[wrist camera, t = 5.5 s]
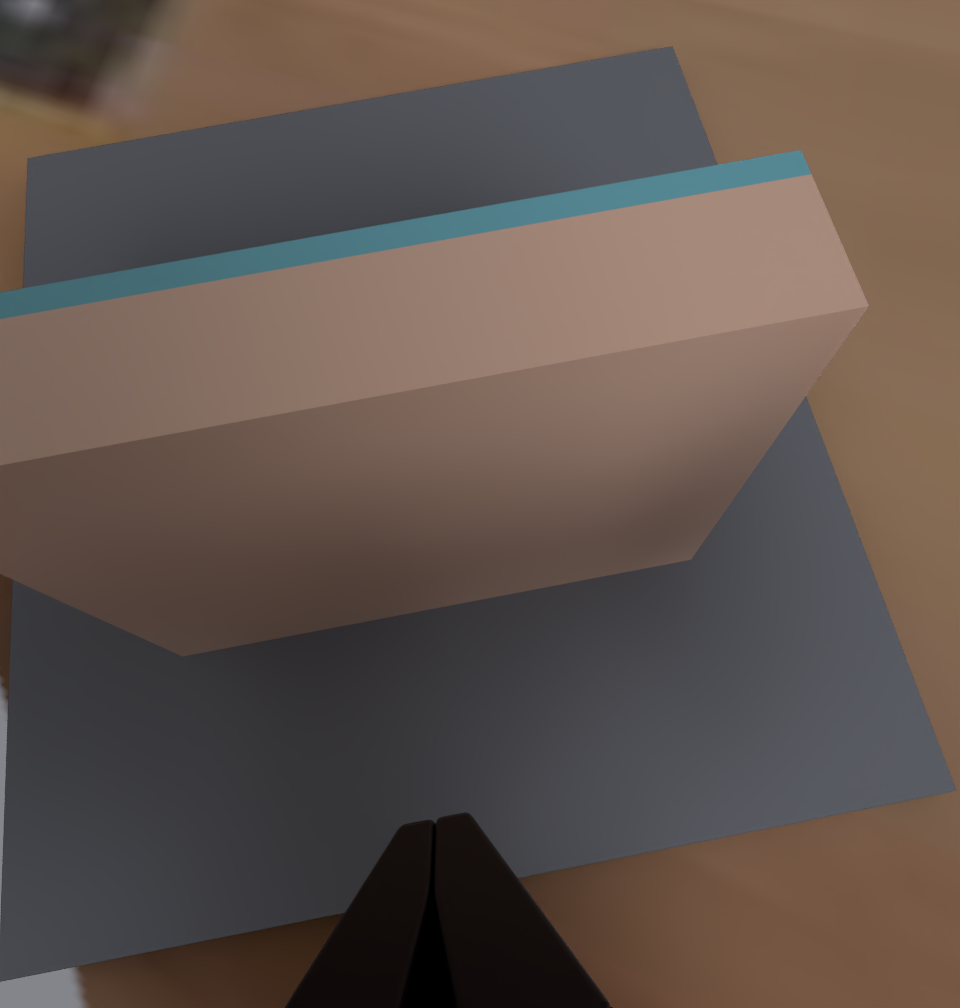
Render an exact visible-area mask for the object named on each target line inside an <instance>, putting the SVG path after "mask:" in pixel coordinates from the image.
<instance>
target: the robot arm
mask: <svg viewBox="0 0 960 1008" xmlns="http://www.w3.org/2000/svg"><path fill="white" fill-rule="evenodd" d="M285 1008H613V1007H610V1004H609V1002H608V1001H607V999H606V998H605V997H604V995H603V994H602V992H601V991H600V990H599V988H598V987H597V986H596V984H595V983H594V981H593V980H592V979H591V977H590V976H589V975H588V973H587V972H586V971H585V969H584V968H583V966H582V965H581V964H580V962H579V961H578V960H577V958H576V957H575V956H574V954H573V953H572V951H571V950H570V949H569V947H568V946H567V945H566V943H565V942H564V941H563V939H562V938H561V936H560V935H559V934H558V932H557V931H556V930H555V928H554V927H553V925H552V924H551V923H550V921H549V920H548V919H547V917H546V916H545V915H544V913H543V912H542V910H541V909H540V908H539V906H538V905H537V904H536V902H535V901H534V900H533V898H532V897H531V895H530V894H529V893H528V891H527V890H526V889H525V887H524V886H523V885H522V883H521V882H520V880H519V879H518V878H517V876H516V875H515V874H514V872H513V871H512V869H511V868H510V867H509V865H508V864H507V863H506V861H505V860H504V859H503V857H502V856H501V854H500V853H499V852H498V850H497V849H496V848H495V846H494V845H493V844H492V842H491V841H490V839H489V838H488V837H487V835H486V834H485V833H484V831H483V830H482V829H481V827H480V826H479V824H478V823H477V822H476V820H475V819H474V818H473V816H472V815H471V814H470V813H467V812H463V813H458V814H453V815H448V816H443V817H440V818H438V819H437V821H436V824H435V822H434V821H433V820H431V819H428V820H422V821H417V822H412V823H407V824H403V825H402V826H400V827H399V829H398V830H397V831H396V833H395V834H394V836H393V838H392V839H391V841H390V842H389V844H388V846H387V847H386V849H385V850H384V852H383V853H382V855H381V857H380V858H379V860H378V861H377V863H376V864H375V866H374V868H373V869H372V871H371V872H370V874H369V875H368V877H367V879H366V880H365V882H364V883H363V885H362V887H361V888H360V890H359V891H358V893H357V894H356V896H355V898H354V899H353V901H352V902H351V904H350V905H349V907H348V909H347V910H346V912H345V913H344V915H343V916H342V918H341V920H340V921H339V923H338V924H337V926H336V927H335V929H334V931H333V932H332V934H331V935H330V937H329V939H328V940H327V942H326V943H325V945H324V946H323V948H322V950H321V951H320V953H319V954H318V956H317V957H316V959H315V961H314V962H313V964H312V965H311V967H310V968H309V970H308V972H307V973H306V975H305V976H304V978H303V980H302V981H301V983H300V984H299V986H298V987H297V989H296V991H295V992H294V994H293V995H292V997H291V998H290V1000H289V1002H288V1003H287V1005H286V1006H285Z"/></svg>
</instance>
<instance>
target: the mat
mask: <svg viewBox="0 0 960 1008" xmlns="http://www.w3.org/2000/svg"><path fill="white" fill-rule="evenodd" d="M714 165H717V162H716V159H715V157H714V154H713V151H712V149H711V146H710V144H709V141H708V138H707V136H706V133H705V130H704V128H703V125H702V123H701V120H700V117H699V115H698V112H697V110H696V107H695V104H694V102H693V99H692V96H691V94H690V91H689V89H688V86H687V83H686V81H685V78H684V75H683V73H682V70H681V68H680V65H679V62H678V60H677V57H676V54H675V52H674V49H673V47H666V48H660V49H654V50H649V51H643V52H637V53H631V54H626V55H620V56H614V57H608V58H603V59H597V60H591V61H585V62H580V63H574V64H568V65H562V66H557V67H551V68H545V69H539V70H534V71H528V72H522V73H516V74H511V75H505V76H499V77H493V78H488V79H482V80H476V81H470V82H464V83H459V84H453V85H447V86H441V87H436V88H430V89H424V90H418V91H413V92H407V93H401V94H395V95H390V96H384V97H378V98H372V99H367V100H361V101H355V102H349V103H344V104H338V105H332V106H326V107H321V108H315V109H309V110H303V111H298V112H292V113H286V114H280V115H275V116H269V117H263V118H257V119H252V120H246V121H240V122H234V123H229V124H223V125H217V126H211V127H206V128H200V129H194V130H188V131H183V132H177V133H171V134H165V135H160V136H154V137H148V138H142V139H137V140H131V141H125V142H119V143H114V144H108V145H102V146H96V147H91V148H85V149H79V150H73V151H67V152H62V153H56V154H50V155H44V156H39V157H33V158H28V165H27V193H26V221H25V249H24V277H23V288H29V287H34V286H40V285H45V284H51V283H57V282H62V281H68V280H74V279H79V278H85V277H90V276H96V275H102V274H107V273H113V272H118V271H124V270H130V269H135V268H141V267H147V266H152V265H158V264H163V263H169V262H175V261H180V260H186V259H192V258H197V257H203V256H208V255H214V254H220V253H225V252H231V251H237V250H242V249H248V248H253V247H259V246H265V245H270V244H276V243H282V242H287V241H293V240H298V239H304V238H310V237H315V236H321V235H326V234H332V233H338V232H343V231H349V230H355V229H360V228H366V227H371V226H377V225H383V224H388V223H394V222H400V221H405V220H411V219H416V218H422V217H428V216H433V215H439V214H445V213H450V212H456V211H461V210H467V209H473V208H478V207H484V206H490V205H495V204H501V203H506V202H512V201H518V200H523V199H529V198H534V197H540V196H546V195H551V194H557V193H563V192H568V191H574V190H579V189H585V188H591V187H596V186H602V185H608V184H613V183H619V182H624V181H630V180H636V179H641V178H647V177H653V176H658V175H664V174H669V173H675V172H681V171H686V170H692V169H697V168H703V167H709V166H714ZM952 791H956V788H955V786H954V783H953V780H952V778H951V775H950V773H949V770H948V767H947V765H946V762H945V759H944V757H943V754H942V752H941V749H940V746H939V744H938V741H937V739H936V736H935V733H934V731H933V728H932V725H931V723H930V720H929V718H928V715H927V712H926V710H925V707H924V704H923V702H922V699H921V697H920V694H919V691H918V689H917V686H916V683H915V681H914V678H913V676H912V673H911V670H910V668H909V665H908V663H907V660H906V657H905V655H904V652H903V649H902V647H901V644H900V642H899V639H898V636H897V634H896V631H895V628H894V626H893V623H892V621H891V618H890V615H889V613H888V610H887V607H886V605H885V602H884V600H883V597H882V594H881V592H880V589H879V587H878V584H877V581H876V579H875V576H874V573H873V571H872V568H871V566H870V563H869V560H868V558H867V555H866V552H865V550H864V547H863V545H862V542H861V539H860V537H859V534H858V531H857V529H856V526H855V524H854V521H853V518H852V516H851V513H850V511H849V508H848V505H847V503H846V500H845V497H844V495H843V492H842V490H841V487H840V484H839V482H838V479H837V476H836V474H835V471H834V469H833V466H832V463H831V461H830V458H829V455H828V453H827V450H826V448H825V445H824V442H823V440H822V437H821V435H820V432H819V429H818V427H817V424H816V421H815V419H814V416H813V414H812V411H811V408H810V406H809V403H808V400H807V398H806V396H805V398H804V399H803V401H802V402H801V404H800V405H799V406H798V408H797V409H796V411H795V412H794V414H793V415H792V416H791V418H790V419H789V421H788V422H787V423H786V425H785V426H784V428H783V429H782V431H781V432H780V433H779V435H778V436H777V438H776V439H775V441H774V442H773V443H772V445H771V446H770V448H769V449H768V451H767V452H766V453H765V455H764V456H763V458H762V459H761V461H760V462H759V463H758V465H757V466H756V468H755V469H754V471H753V472H752V473H751V475H750V476H749V478H748V479H747V481H746V482H745V483H744V485H743V486H742V488H741V489H740V491H739V492H738V493H737V495H736V496H735V498H734V499H733V500H732V502H731V503H730V505H729V506H728V508H727V509H726V510H725V512H724V513H723V515H722V516H721V518H720V519H719V520H718V522H717V523H716V525H715V526H714V528H713V529H712V530H711V532H710V533H709V535H708V536H707V538H706V539H705V540H704V542H703V543H702V545H701V546H700V548H699V549H698V550H697V552H696V553H695V555H694V556H693V558H692V559H691V560H687V561H682V562H676V563H671V564H666V565H661V566H655V567H650V568H645V569H640V570H634V571H629V572H624V573H619V574H613V575H608V576H603V577H598V578H592V579H587V580H582V581H577V582H571V583H566V584H561V585H556V586H550V587H545V588H540V589H535V590H529V591H524V592H519V593H514V594H508V595H503V596H498V597H493V598H487V599H482V600H477V601H472V602H466V603H461V604H456V605H451V606H445V607H440V608H435V609H430V610H424V611H419V612H414V613H409V614H403V615H398V616H393V617H388V618H382V619H377V620H372V621H367V622H361V623H356V624H351V625H346V626H340V627H335V628H330V629H325V630H319V631H314V632H309V633H304V634H298V635H293V636H288V637H283V638H277V639H272V640H267V641H262V642H256V643H251V644H246V645H241V646H235V647H230V648H225V649H220V650H214V651H209V652H204V653H199V654H193V655H188V656H183V657H182V656H180V655H178V654H176V653H174V652H171V651H169V650H167V649H165V648H163V647H160V646H158V645H156V644H154V643H151V642H149V641H147V640H145V639H143V638H140V637H138V636H136V635H134V634H132V633H129V632H127V631H125V630H123V629H120V628H118V627H116V626H114V625H112V624H109V623H107V622H105V621H103V620H101V619H98V618H96V617H94V616H92V615H90V614H87V613H85V612H83V611H81V610H78V609H76V608H74V607H72V606H70V605H67V604H65V603H63V602H61V601H59V600H56V599H54V598H52V597H50V596H47V595H45V594H43V593H41V592H39V591H36V590H34V589H32V588H30V587H28V586H25V585H23V584H21V583H19V582H17V581H14V580H13V585H12V613H11V641H10V669H9V697H8V725H7V755H6V781H5V810H4V837H3V838H4V839H3V865H2V866H3V867H2V894H1V922H0V982H1V981H6V980H11V979H16V978H21V977H25V976H31V975H36V974H41V973H46V972H51V971H56V970H61V969H66V968H71V967H76V966H81V965H86V964H91V963H96V962H101V961H106V960H111V959H116V958H121V957H126V956H131V955H136V954H141V953H146V952H151V951H156V950H161V949H166V948H171V947H176V946H181V945H186V944H191V943H196V942H201V941H206V940H211V939H216V938H221V937H226V936H231V935H236V934H241V933H246V932H251V931H256V930H261V929H266V928H271V927H276V926H281V925H286V924H291V923H296V922H301V921H306V920H311V919H316V918H321V917H326V916H331V915H337V914H342V913H345V912H346V910H347V909H348V907H349V905H350V904H351V902H352V901H353V899H354V898H355V896H356V894H357V893H358V891H359V890H360V888H361V887H362V885H363V883H364V882H365V880H366V879H367V877H368V875H369V874H370V872H371V871H372V869H373V868H374V866H375V864H376V863H377V861H378V860H379V858H380V857H381V855H382V853H383V852H384V850H385V849H386V847H387V846H388V844H389V842H390V841H391V839H392V838H393V836H394V834H395V833H396V831H397V830H398V829H399V827H400V826H402V825H403V824H407V823H412V822H417V821H422V820H428V819H431V820H433V821H434V822H435V824H436V821H437V819H438V818H440V817H443V816H448V815H453V814H458V813H463V812H467V813H470V814H471V815H472V816H473V818H474V819H475V820H476V822H477V823H478V824H479V826H480V827H481V829H482V830H483V831H484V833H485V834H486V835H487V837H488V838H489V839H490V841H491V842H492V844H493V845H494V846H495V848H496V849H497V850H498V852H499V853H500V854H501V856H502V857H503V859H504V860H505V861H506V863H507V864H508V865H509V867H510V868H511V869H512V871H513V872H514V874H515V875H516V876H517V878H522V877H527V876H532V875H537V874H542V873H547V872H552V871H557V870H562V869H567V868H572V867H577V866H582V865H587V864H592V863H597V862H602V861H607V860H612V859H617V858H622V857H627V856H632V855H637V854H642V853H647V852H652V851H657V850H662V849H667V848H672V847H677V846H682V845H687V844H692V843H697V842H702V841H707V840H712V839H717V838H722V837H727V836H732V835H737V834H742V833H747V832H752V831H757V830H762V829H767V828H772V827H777V826H782V825H787V824H792V823H797V822H802V821H807V820H812V819H817V818H822V817H827V816H832V815H837V814H842V813H847V812H852V811H857V810H862V809H867V808H872V807H877V806H882V805H887V804H892V803H897V802H902V801H907V800H912V799H917V798H922V797H927V796H932V795H937V794H942V793H947V792H952Z"/></svg>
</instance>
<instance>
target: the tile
mask: <svg viewBox="0 0 960 1008" xmlns="http://www.w3.org/2000/svg"><path fill="white" fill-rule="evenodd" d="M868 307H869V305H868V303H867V301H866V298H865V296H864V294H863V292H862V289H861V287H860V285H859V282H858V280H857V278H856V275H855V273H854V271H853V269H852V266H851V264H850V262H849V259H848V257H847V255H846V253H845V250H844V248H843V246H842V243H841V241H840V239H839V236H838V234H837V232H836V230H835V227H834V225H833V223H832V220H831V218H830V216H829V213H828V211H827V209H826V207H825V204H824V202H823V200H822V197H821V195H820V193H819V191H818V188H817V186H816V184H815V181H814V179H813V177H812V174H811V172H810V170H809V168H808V165H807V163H806V161H805V158H804V156H803V154H802V152H801V150H799V151H793V152H787V153H782V154H776V155H771V156H765V157H759V158H754V159H748V160H742V161H737V162H731V163H726V164H720V165H714V166H709V167H703V168H697V169H692V170H686V171H681V172H675V173H669V174H664V175H658V176H653V177H647V178H641V179H636V180H630V181H624V182H619V183H613V184H608V185H602V186H596V187H591V188H585V189H579V190H574V191H568V192H563V193H557V194H551V195H546V196H540V197H534V198H529V199H523V200H518V201H512V202H506V203H501V204H495V205H490V206H484V207H478V208H473V209H467V210H461V211H456V212H450V213H445V214H439V215H433V216H428V217H422V218H416V219H411V220H405V221H400V222H394V223H388V224H383V225H377V226H371V227H366V228H360V229H355V230H349V231H343V232H338V233H332V234H326V235H321V236H315V237H310V238H304V239H298V240H293V241H287V242H282V243H276V244H270V245H265V246H259V247H253V248H248V249H242V250H237V251H231V252H225V253H220V254H214V255H208V256H203V257H197V258H192V259H186V260H180V261H175V262H169V263H163V264H158V265H152V266H147V267H141V268H135V269H130V270H124V271H118V272H113V273H107V274H102V275H96V276H90V277H85V278H79V279H74V280H68V281H62V282H57V283H51V284H45V285H40V286H34V287H29V288H23V289H17V290H12V291H6V292H0V574H1V575H3V576H5V577H8V578H10V579H12V580H14V581H17V582H19V583H21V584H23V585H25V586H28V587H30V588H32V589H34V590H36V591H39V592H41V593H43V594H45V595H47V596H50V597H52V598H54V599H56V600H59V601H61V602H63V603H65V604H67V605H70V606H72V607H74V608H76V609H78V610H81V611H83V612H85V613H87V614H90V615H92V616H94V617H96V618H98V619H101V620H103V621H105V622H107V623H109V624H112V625H114V626H116V627H118V628H120V629H123V630H125V631H127V632H129V633H132V634H134V635H136V636H138V637H140V638H143V639H145V640H147V641H149V642H151V643H154V644H156V645H158V646H160V647H163V648H165V649H167V650H169V651H171V652H174V653H176V654H178V655H180V656H182V657H183V656H188V655H193V654H199V653H204V652H209V651H214V650H220V649H225V648H230V647H235V646H241V645H246V644H251V643H256V642H262V641H267V640H272V639H277V638H283V637H288V636H293V635H298V634H304V633H309V632H314V631H319V630H325V629H330V628H335V627H340V626H346V625H351V624H356V623H361V622H367V621H372V620H377V619H382V618H388V617H393V616H398V615H403V614H409V613H414V612H419V611H424V610H430V609H435V608H440V607H445V606H451V605H456V604H461V603H466V602H472V601H477V600H482V599H487V598H493V597H498V596H503V595H508V594H514V593H519V592H524V591H529V590H535V589H540V588H545V587H550V586H556V585H561V584H566V583H571V582H577V581H582V580H587V579H592V578H598V577H603V576H608V575H613V574H619V573H624V572H629V571H634V570H640V569H645V568H650V567H655V566H661V565H666V564H671V563H676V562H682V561H687V560H691V559H692V558H693V556H694V555H695V553H696V552H697V550H698V549H699V548H700V546H701V545H702V543H703V542H704V540H705V539H706V538H707V536H708V535H709V533H710V532H711V530H712V529H713V528H714V526H715V525H716V523H717V522H718V520H719V519H720V518H721V516H722V515H723V513H724V512H725V510H726V509H727V508H728V506H729V505H730V503H731V502H732V500H733V499H734V498H735V496H736V495H737V493H738V492H739V491H740V489H741V488H742V486H743V485H744V483H745V482H746V481H747V479H748V478H749V476H750V475H751V473H752V472H753V471H754V469H755V468H756V466H757V465H758V463H759V462H760V461H761V459H762V458H763V456H764V455H765V453H766V452H767V451H768V449H769V448H770V446H771V445H772V443H773V442H774V441H775V439H776V438H777V436H778V435H779V433H780V432H781V431H782V429H783V428H784V426H785V425H786V423H787V422H788V421H789V419H790V418H791V416H792V415H793V414H794V412H795V411H796V409H797V408H798V406H799V405H800V404H801V402H802V401H803V399H804V398H805V396H806V395H807V394H808V392H809V391H810V389H811V388H812V386H813V385H814V384H815V382H816V381H817V379H818V378H819V376H820V375H821V374H822V372H823V371H824V369H825V368H826V366H827V365H828V364H829V362H830V361H831V359H832V358H833V356H834V355H835V354H836V352H837V351H838V349H839V348H840V347H841V345H842V344H843V342H844V341H845V339H846V338H847V337H848V335H849V334H850V332H851V331H852V329H853V328H854V327H855V325H856V324H857V322H858V321H859V319H860V318H861V317H862V315H863V314H864V312H865V311H866V309H867V308H868Z"/></svg>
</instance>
